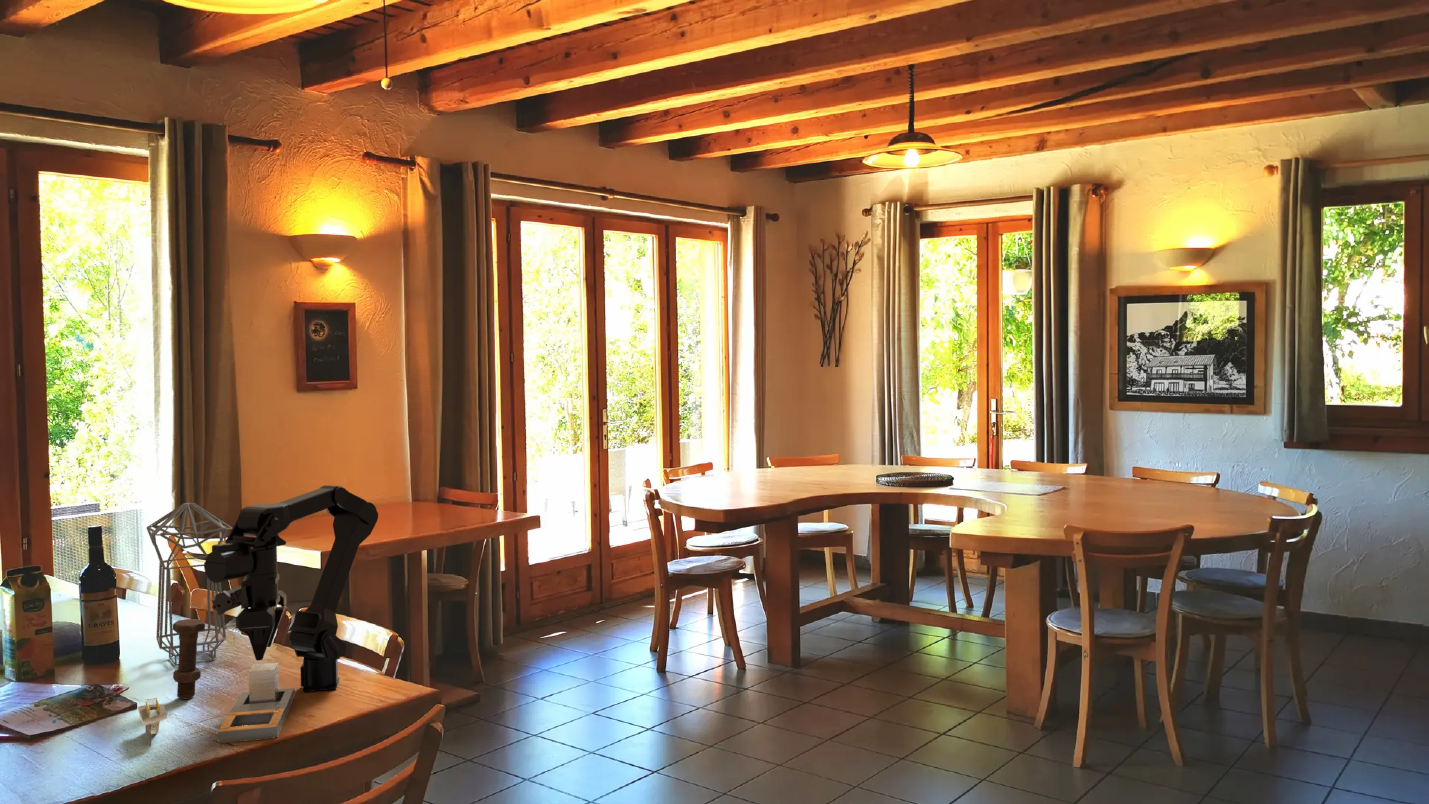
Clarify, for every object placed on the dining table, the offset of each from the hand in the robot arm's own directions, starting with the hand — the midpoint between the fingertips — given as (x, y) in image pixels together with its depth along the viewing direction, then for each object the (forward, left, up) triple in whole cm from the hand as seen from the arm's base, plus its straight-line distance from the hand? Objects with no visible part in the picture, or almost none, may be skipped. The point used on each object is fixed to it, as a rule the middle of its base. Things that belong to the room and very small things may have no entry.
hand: (263, 653), depth 199 cm
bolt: (+16, -11, -11) cm, 22 cm away
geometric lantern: (+21, -40, -11) cm, 46 cm away
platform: (+16, +12, -11) cm, 23 cm away
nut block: (0, 0, -11) cm, 11 cm away
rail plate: (0, +7, -11) cm, 12 cm away
